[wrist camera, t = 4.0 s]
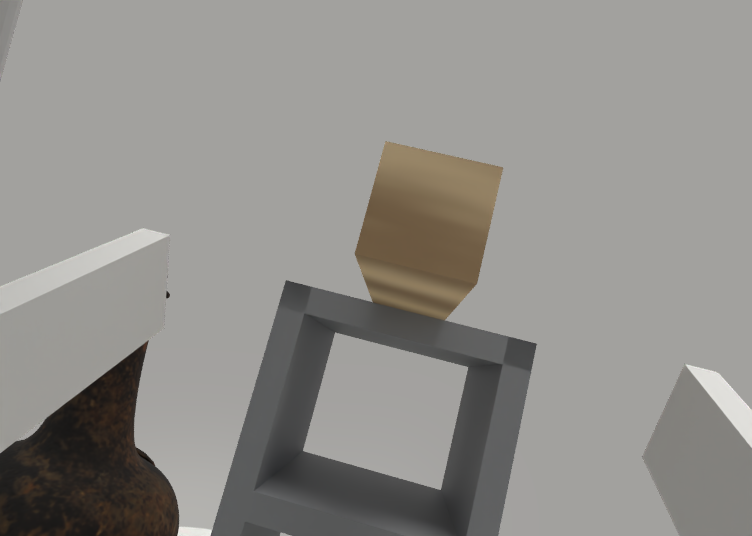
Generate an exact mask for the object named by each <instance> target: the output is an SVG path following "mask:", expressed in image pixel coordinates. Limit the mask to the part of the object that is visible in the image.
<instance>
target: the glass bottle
mask: <svg viewBox="0 0 752 536" xmlns="http://www.w3.org/2000/svg"><path fill="white" fill-rule="evenodd" d="M167 278H168V275H167ZM169 296H170V294H169V293H168V292H167V291H166V298H169ZM148 341H149V340H148ZM148 341H147V342H145V343H144V344H143V345H141V346H140V347H139V348H137V349H136V350H135V351H134V352H132V353H131V354H130V355H128V356H127V357H126V358H124V359H123V360H122V361H120V362H119V363H118V364H117V365H115V366H114V367H113V368H111V369H110V370H109V371H107V372H106V373H105V374H103V375H102V376H101V377H99V378H98V379H97V380H96V381H94V382H93V383H92V384H90V385H89V386H88V387H86V388H85V389H84V390H82V391H81V392H80V393H78V394H77V395H76V396H75V397H73V398H72V399H71V400H69V401H68V402H67V403H65V404H64V405H63V406H61V407H60V408H59V409H57V410H56V411H55V412H54V413H52V414H51V415H50V416H48V417H47V418H46V419H45V421H44V422H43V424H42V425H41V426H40V428H39V429H38V430H37V431H36V432H35V433H34V434H33V435H31V436H30V437H28V438H27V439H25V440H21V441H16V442H14V443H13V444H12V445H10V446H9V447H8V448H6V449H5V450H4V451H2V452H1V453H0V536H177V534H178V529H179V510H178V504H177V499H176V496H175V493H174V490H173V489H172V486H171V484H170V483H169V481H168V479H167V478H166V477H165V476H164V475H163V473H162V472H161V471H160V470H159V469H158V468H156V467H155V464H154V462H153V461H152V460H151V459H150V458H149V457H148V456H147V454H146V453H144V452H143V451H141V450H140V449H138V448H136V447H135V442H134V417H135V408H136V399H137V393H138V387H139V381H140V377H141V371H142V366H143V362H144V358H145V353H146V349H147V345H148Z"/></svg>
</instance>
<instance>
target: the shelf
mask: <svg viewBox="0 0 752 536" xmlns="http://www.w3.org/2000/svg"><path fill="white" fill-rule="evenodd" d="M335 332H336V333H340V334H344V335H348V336H351V337H355V338H359V339H363V340H367V341H371V342H375V343H378V344H382V345H386V346H390V347H394V348H397V349H401V350H405V351H409V352H413V353H417V354H421V355H424V356H428V357H432V358H436V359H440V360H444V361H447V362H451V363H455V364H459V365H463V366H467V367H468V372H467V376H466V381H465V385H464V390H463V394H462V398H461V403H460V408H459V412H458V417H457V421H456V425H455V430H454V435H453V439H452V443H451V448H450V452H449V457H448V461H447V466H446V470H445V475H444V479H443V484H442V488H441V490H437V489H434V488H431V487H427V486H424V485H420V484H416V483H413V482H410V481H406V480H403V479H399V478H396V477H392V476H388V475H385V474H381V473H378V472H374V471H371V470H367V469H364V468H360V467H357V466H353V465H350V464H346V463H343V462H339V461H335V460H332V459H328V458H325V457H321V456H318V455H314V454H310V453H307V452H304V451H303V448H304V444H305V440H306V436H307V433H308V429H309V426H310V422H311V419H312V415H313V411H314V407H315V404H316V400H317V397H318V392H319V389H320V385H321V382H322V378H323V374H324V370H325V367H326V363H327V360H328V356H329V352H330V348H331V345H332V341H333V338H334V334H335ZM536 345H537V344H536V343H531V342H528V341H523V340H520V339H516V338H511V337H508V336H503V335H500V334H496V333H492V332H488V331H484V330H480V329H476V328H472V327H468V326H464V325H460V324H456V323H452V322H448V321H445V320H441V319H437V318H433V317H429V316H425V315H421V314H417V313H413V312H409V311H405V310H401V309H397V308H393V307H389V306H385V305H381V304H377V303H373V302H369V301H365V300H361V299H358V298H354V297H350V296H345V295H342V294H338V293H334V292H330V291H326V290H322V289H318V288H314V287H310V286H306V285H302V284H298V283H294V282H290V281H286V282H285V285H284V289H283V292H282V296H281V299H280V303H279V306H278V309H277V313H276V316H275V319H274V323H273V326H272V330H271V333H270V337H269V340H268V343H267V347H266V350H265V353H264V357H263V360H262V363H261V367H260V370H259V374H258V377H257V380H256V384H255V387H254V391H253V394H252V398H251V401H250V404H249V408H248V411H247V414H246V418H245V421H244V424H243V428H242V431H241V435H240V438H239V441H238V446H237V449H236V452H235V455H234V458H233V462H232V465H231V469H230V472H229V475H228V479H227V482H226V485H225V489H224V492H223V496H222V499H221V503H220V506H219V509H218V513H217V516H216V520H215V523H214V526H213V530H212V533H211V536H280V532H282V533H286V534H288V535H292V536H498V533H499V528H500V523H501V518H502V514H503V508H504V504H505V498H506V494H507V489H508V484H509V479H510V474H511V469H512V464H513V459H514V454H515V448H516V444H517V439H518V434H519V429H520V424H521V419H522V414H523V409H524V404H525V398H526V394H527V389H528V384H529V379H530V374H531V369H532V364H533V359H534V354H535V350H536Z"/></svg>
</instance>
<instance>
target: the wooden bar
mask: <svg viewBox="0 0 752 536" xmlns="http://www.w3.org/2000/svg"><path fill="white" fill-rule="evenodd" d="M502 170H503V167H498V166H494V165H489V164H485V163H481V162H476V161H472V160H467V159H463V158H459V157H454V156H450V155H445V154H441V153H436V152H432V151H427V150H423V149H418V148H414V147H409V146H405V145H400V144H396V143H391V142H387V141H386V142H385V145H384V149H383V153H382V156H381V160H380V163H379V167H378V171H377V174H376V178H375V182H374V185H373V189H372V193H371V196H370V200H369V204H368V207H367V211H366V215H365V218H364V222H363V226H362V229H361V233H360V237H359V241H358V244H357V248H356V251H355V256H356V258H357V261H358V264H359V266H360V269H361V272H362V274H363V277H364V280H365V282H366V285H367V288H368V290H369V293H370V296H371V298H372V301H373V303H377V304H381V305H385V306H389V307H393V308H397V309H401V310H405V311H409V312H413V313H417V314H421V315H425V316H429V317H433V318H437V319H441V320H445V319H446V318H447V317H448V316H449V315H450V314H451V312H452V311H453V310H454V309H455V308H456V307H457V306H458V305H459V304H460V302H461V301H462V300H463V299H464V298H465V297H466V296H467V294H468V293H469V292H470V291H471V290H472V288H474V286H475V285H476V284H477V281H478V277H479V272H480V267H481V263H482V259H483V254H484V250H485V245H486V241H487V237H488V232H489V228H490V224H491V219H492V214H493V210H494V206H495V201H496V196H497V193H498V188H499V184H500V179H501V175H502Z"/></svg>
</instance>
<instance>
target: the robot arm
mask: <svg viewBox="0 0 752 536" xmlns="http://www.w3.org/2000/svg"><path fill="white" fill-rule="evenodd" d="M22 2H23V0H0V80H1V77H2V73H3V69H4V65H5V62H6V59H7V55H8V51H9V48H10V44H11V41H12V37H13V34H14V30H15V27H16V23H17V19H18V16H19V12H20V9H21V5H22ZM169 244H170V235H168V234H164V233H160V232H156V231H152V230H148V229H144V228H142V229H140V230H137V231H135V232H132V233H130V234H128V235H125V236H123V237H120V238H118V239H116V240H113V241H110V242H108V243H105V244H103V245H101V246H98V247H96V248H93V249H91V250H88V251H86V252H83V253H81V254H79V255H76V256H74V257H71V258H69V259H66V260H64V261H61V262H59V263H57V264H54V265H51V266H49V267H47V268H44V269H42V270H39V271H37V272H34V273H32V274H30V275H27V276H24V277H22V278H20V279H17V280H15V281H12V282H10V283H7V284H5V285H2V286H0V453H1V452H2V451H4V450H5V449H6V448H8V447H9V446H10V445H12V444H13V443H14V442H16V441H17V440H18V439H19V438H21V437H22V436H23V435H25V434H26V433H27V432H29V431H30V430H31V429H33V428H34V427H35V426H36V425H38V424H39V423H40V422H42V421H43V420H44V419H46V418H47V417H48V416H50V415H51V414H52V413H54V412H55V411H56V410H57V409H59V408H60V407H61V406H63V405H64V404H65V403H67V402H68V401H69V400H71V399H72V398H73V397H75V396H76V395H77V394H78V393H80V392H81V391H82V390H84V389H85V388H86V387H88V386H89V385H90V384H92V383H93V382H94V381H96V380H97V379H98V378H99V377H101V376H102V375H103V374H105V373H106V372H107V371H109V370H110V369H111V368H113V367H114V366H115V365H117V364H118V363H119V362H120V361H122V360H123V359H124V358H126V357H127V356H128V355H130V354H131V353H132V352H134V351H135V350H136V349H137V348H139V347H140V346H141V345H143V344H144V343H145V342H147V341H148V340H149V339H151V338H152V337H153V336H155V335H156V334H157V333H158V332H160V331H161V330H162V329H163V328H164V320H165V305H166V289H167V274H168V259H169ZM642 458H643V460H644V462H645V464H646V466H647V468H648V470H649V472H650V475H651V477H652V479H653V481H654V483H655V485H656V487H657V489H658V491H659V494H660V496H661V498H662V500H663V502H664V504H665V506H666V508H667V510H668V513H669V515H670V517H671V519H672V521H673V523H674V525H675V527H676V529H677V531H678V533H679V535H680V536H752V410H751V409H750V408H749V407H748V405H747V404H746V403H745V402H744V401H743V400H742V399H741V398H740V397H739V395H738V394H737V393H736V392H735V391H734V390H733V389H732V388H731V387H730V385H729V384H728V383H727V382H726V381H725V380H724V379H723V377H722V376H721V375H720V374H719V373H718V372H715V371H711V370H706V369H703V368H698V367H695V366H690V365H686V364H684V367H683V369H682V371H681V373H680V375H679V377H678V380H677V382H676V384H675V386H674V388H673V391H672V393H671V395H670V397H669V399H668V401H667V404H666V406H665V408H664V410H663V412H662V415H661V417H660V419H659V421H658V423H657V425H656V428H655V430H654V432H653V434H652V436H651V439H650V441H649V443H648V445H647V447H646V449H645V452H644V454H643V456H642Z"/></svg>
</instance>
